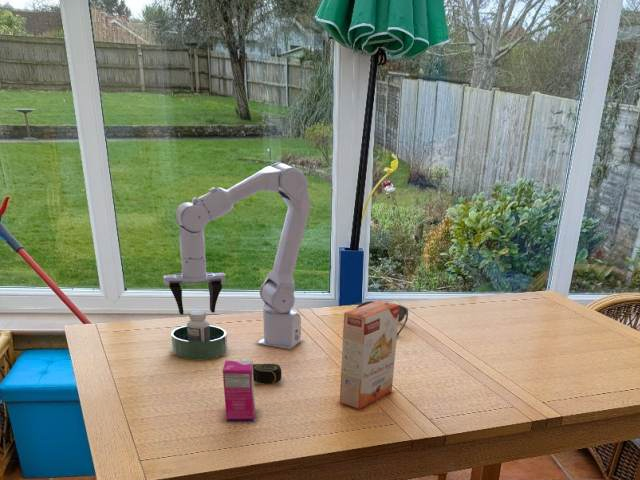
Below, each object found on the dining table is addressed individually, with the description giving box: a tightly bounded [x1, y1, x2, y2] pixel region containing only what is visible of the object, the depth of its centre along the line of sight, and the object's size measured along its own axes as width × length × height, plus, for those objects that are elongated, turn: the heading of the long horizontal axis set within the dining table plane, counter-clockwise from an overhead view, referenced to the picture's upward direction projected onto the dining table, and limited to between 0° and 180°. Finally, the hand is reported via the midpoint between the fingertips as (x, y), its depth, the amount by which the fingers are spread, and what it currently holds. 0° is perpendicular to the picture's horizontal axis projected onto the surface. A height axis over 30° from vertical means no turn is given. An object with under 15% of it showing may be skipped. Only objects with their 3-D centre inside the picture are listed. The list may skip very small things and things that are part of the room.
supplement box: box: [222, 359, 256, 423], centre depth 150 cm, size 6×6×12 cm
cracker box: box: [339, 299, 400, 410], centre depth 160 cm, size 14×6×21 cm, turn 148°
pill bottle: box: [186, 309, 210, 342], centre depth 182 cm, size 5×5×10 cm
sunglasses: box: [354, 300, 409, 338], centre depth 211 cm, size 16×17×5 cm
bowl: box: [170, 324, 228, 361], centre depth 183 cm, size 13×13×5 cm
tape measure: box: [253, 363, 282, 385], centre depth 169 cm, size 7×7×4 cm
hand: (197, 312), depth 180 cm, fingers open, 7 cm apart
